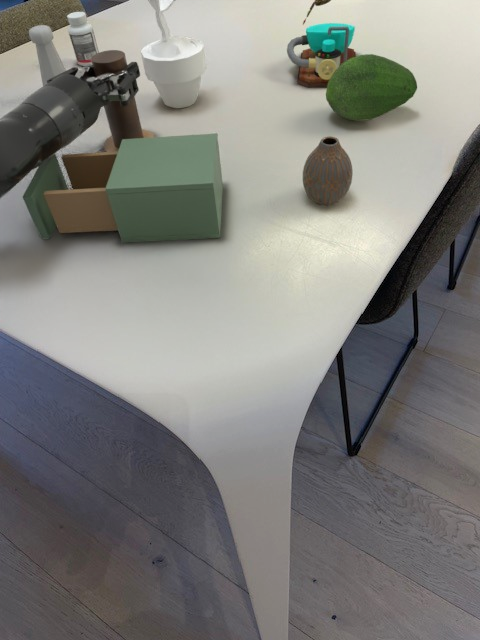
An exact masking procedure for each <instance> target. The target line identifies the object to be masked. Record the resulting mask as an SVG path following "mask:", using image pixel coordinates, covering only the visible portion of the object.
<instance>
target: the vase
mask: <svg viewBox="0 0 480 640" xmlns="http://www.w3.org/2000/svg"><path fill="white" fill-rule="evenodd" d="M352 164H353V163H352V161H351V158H350V156H349V154H348V153H347V151H345V149H344V148H343V146H342V145H341V142H340V140H339V138H338V137H335V136H325V137H322V138H321V139H320V141H319V143H318V145H317V146H316V147H315V148H314V149H313V150H312V151H311V152H310V153H309V155H308V156H307V158H306V160H305V162H304V165H303V168H302V185H303V189H304V191H305V194H306V195H307V197H309V199H311V200H312V201H313V202H315V203H316V204H319V205H324V206H328V205H329V206H330V205H333V204H336V203H338V202H339V201H341V200H342V199H343V198H344V197H345V196H346V195H347V193H348V192H349V190H350V188H351V185H352V181H353V176H354V175H353V165H352Z"/></svg>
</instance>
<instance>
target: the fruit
mask: <svg viewBox="0 0 480 640" xmlns="http://www.w3.org/2000/svg"><path fill="white" fill-rule="evenodd" d="M417 90H418V82H417V79H416V77H415V75H414V73H413V72H412V71H411V70H410V69H409V68H407V67H405V66H403V65H402V64H400V63H398V62H396V61H394V60H392V59H389V58H387V57H385V56H381V55H377V54H373V53H369V54H368V53H367V54H359V55H357V56H356V57H353V58H350V59H349V60H347V61H346V62H344V63H343V64H341V65H340V66H339V67H338V68H337V69H336V70H335V72H334V73H333V75H332V76H331V78H330V80H329V81H328V85H327V87H326V90H325V100H326V101H327V103H328V106H329V107H330V108H331V109H332V111H333V112H334V113H336V114H337V115H339V116H340V117H342V118H345V119H347V120H351V121H367V120H372V119H376V118H379V117H381V116H384V115H385V114H387V113H389V112H392V111H394V110H395V109H397V108H398V107H401V106H403V105H405V104H406V103H408V101H410V99H412V98H414V95H415V94H416V92H417Z"/></svg>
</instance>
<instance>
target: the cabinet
mask: <svg viewBox="0 0 480 640" xmlns="http://www.w3.org/2000/svg"><path fill="white" fill-rule="evenodd" d="M221 165H222V164H221V155H220V147H219V138H218V133H204V134H202V133H201V134H187V135H170V136H155V137H152V138H135V139H122V142H121V144H120V147H119V150H118V153H117V156H116V159H115V162H114V165H113V168H112V171H111V174H110V177H109V180H108V183H107V186H106V189H105V190H106V193H107V196H108V199H109V203H110V206H111V209H112V212H113V215H114V219H115V222H116V225H117V228H118V230H117V232H118V234H119V238H120V240H121V243H123V244H125V243H144V242H162V241H163V242H164V241H185V240H186V241H187V240H203V239H204V240H207V239H220V238H221V227H222V226H221V225H222V212H223V209H222V208H223V193H224V190H223V189H224V183H223V173H222V166H221Z"/></svg>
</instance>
